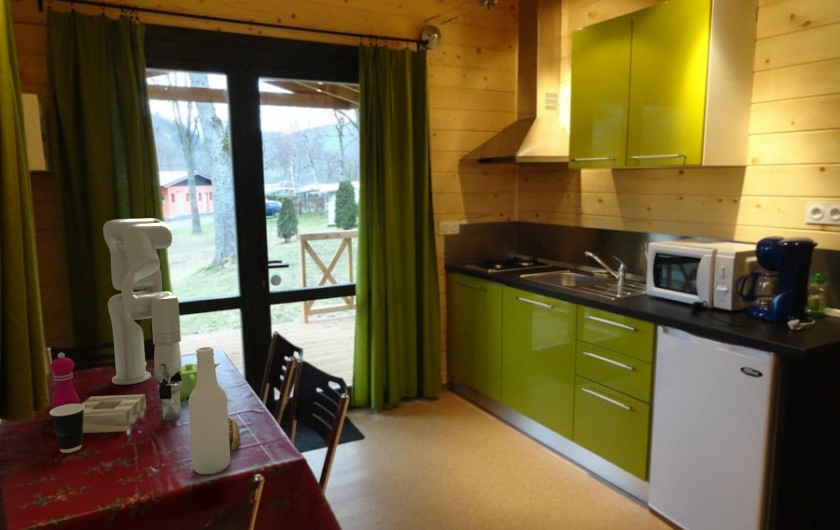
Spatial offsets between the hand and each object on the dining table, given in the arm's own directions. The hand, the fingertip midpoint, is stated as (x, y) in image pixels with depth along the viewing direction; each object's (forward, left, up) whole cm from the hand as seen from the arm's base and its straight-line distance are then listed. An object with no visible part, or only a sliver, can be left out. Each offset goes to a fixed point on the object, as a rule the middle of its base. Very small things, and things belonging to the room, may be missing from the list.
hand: (171, 393), depth 172 cm
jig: (+1, -18, -8) cm, 20 cm away
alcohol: (+34, +20, -8) cm, 40 cm away
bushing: (0, 0, -8) cm, 8 cm away
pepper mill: (-4, -32, -8) cm, 34 cm away
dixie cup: (+19, -20, -8) cm, 29 cm away
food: (+20, +21, -8) cm, 30 cm away
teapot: (-19, 0, -8) cm, 21 cm away
